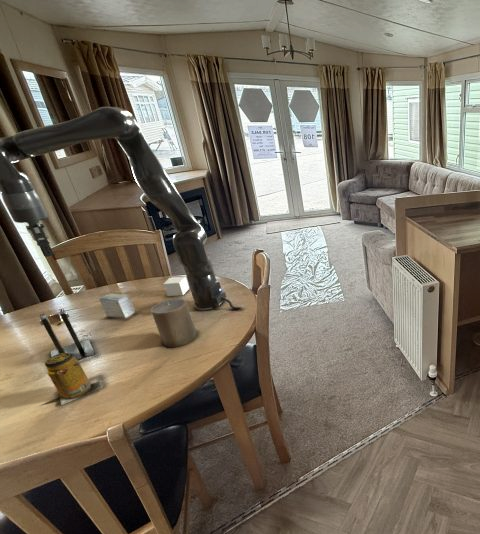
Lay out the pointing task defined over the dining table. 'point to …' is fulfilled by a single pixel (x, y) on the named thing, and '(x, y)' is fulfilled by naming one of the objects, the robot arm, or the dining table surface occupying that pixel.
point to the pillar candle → (174, 322)
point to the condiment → (69, 377)
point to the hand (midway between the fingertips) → (48, 252)
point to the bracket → (79, 347)
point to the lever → (56, 320)
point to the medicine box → (117, 305)
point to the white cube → (176, 286)
